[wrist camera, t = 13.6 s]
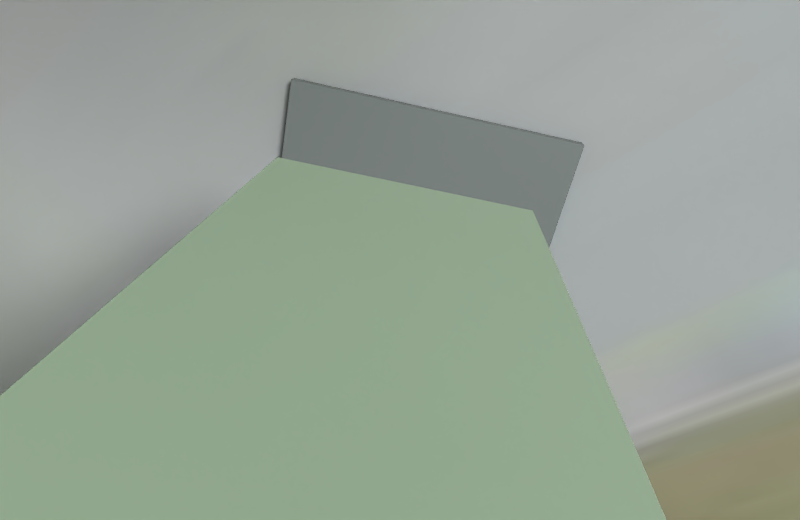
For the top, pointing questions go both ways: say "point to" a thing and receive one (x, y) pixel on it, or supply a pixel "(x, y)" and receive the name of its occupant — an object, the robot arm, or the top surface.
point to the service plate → (430, 149)
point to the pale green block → (329, 373)
